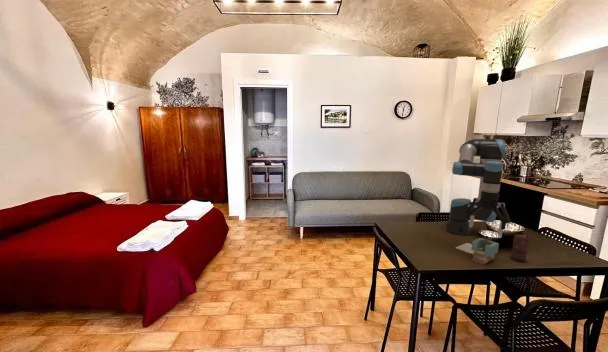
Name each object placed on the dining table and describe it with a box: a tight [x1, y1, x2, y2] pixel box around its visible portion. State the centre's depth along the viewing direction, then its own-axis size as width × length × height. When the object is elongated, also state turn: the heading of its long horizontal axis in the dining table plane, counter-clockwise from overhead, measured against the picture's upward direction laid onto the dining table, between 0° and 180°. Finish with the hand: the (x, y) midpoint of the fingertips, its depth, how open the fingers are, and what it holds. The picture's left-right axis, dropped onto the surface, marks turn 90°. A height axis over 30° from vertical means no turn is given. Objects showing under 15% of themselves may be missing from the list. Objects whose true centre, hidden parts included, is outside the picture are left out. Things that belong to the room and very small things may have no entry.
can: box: [511, 233, 530, 263], centre depth 140 cm, size 6×6×14 cm
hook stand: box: [471, 238, 496, 266], centre depth 140 cm, size 13×5×12 cm, turn 123°
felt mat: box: [454, 242, 481, 255], centre depth 153 cm, size 14×14×1 cm
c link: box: [471, 237, 500, 256], centre depth 140 cm, size 9×9×5 cm
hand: (484, 230), depth 137 cm, fingers open, 13 cm apart
